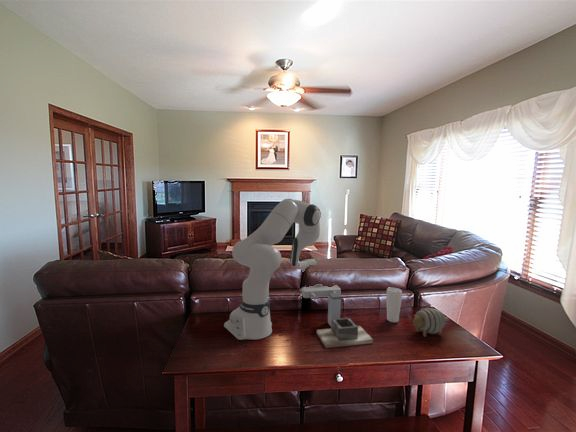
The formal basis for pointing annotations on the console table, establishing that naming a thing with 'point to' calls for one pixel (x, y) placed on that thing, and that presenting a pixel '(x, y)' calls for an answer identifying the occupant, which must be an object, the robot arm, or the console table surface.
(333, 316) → the grey tall block
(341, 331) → the post socket
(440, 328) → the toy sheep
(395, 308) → the drinking glass
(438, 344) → the console table surface
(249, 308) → the robot arm
